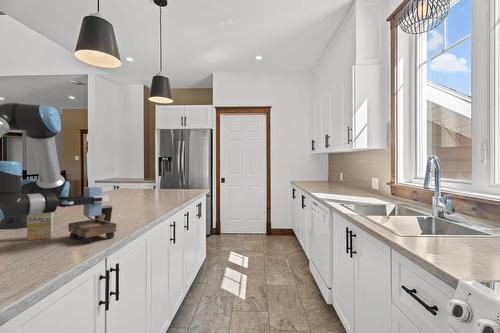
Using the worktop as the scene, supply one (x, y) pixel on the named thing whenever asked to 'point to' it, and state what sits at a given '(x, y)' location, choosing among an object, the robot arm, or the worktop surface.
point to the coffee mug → (104, 213)
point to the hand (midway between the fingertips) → (105, 197)
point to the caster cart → (91, 229)
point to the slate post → (97, 207)
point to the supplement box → (40, 226)
